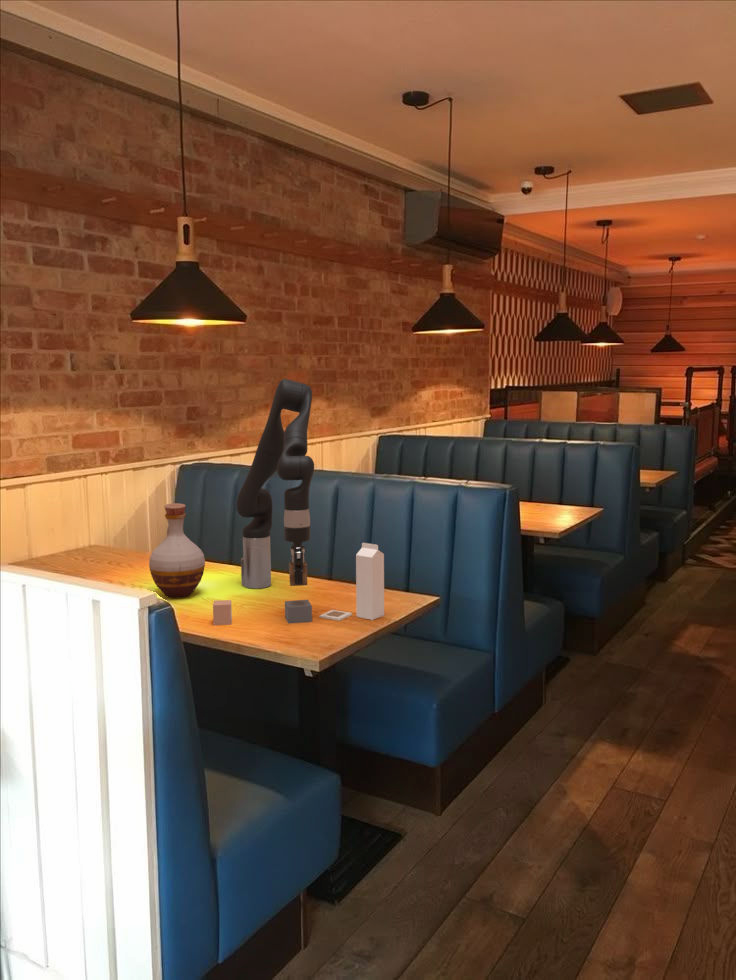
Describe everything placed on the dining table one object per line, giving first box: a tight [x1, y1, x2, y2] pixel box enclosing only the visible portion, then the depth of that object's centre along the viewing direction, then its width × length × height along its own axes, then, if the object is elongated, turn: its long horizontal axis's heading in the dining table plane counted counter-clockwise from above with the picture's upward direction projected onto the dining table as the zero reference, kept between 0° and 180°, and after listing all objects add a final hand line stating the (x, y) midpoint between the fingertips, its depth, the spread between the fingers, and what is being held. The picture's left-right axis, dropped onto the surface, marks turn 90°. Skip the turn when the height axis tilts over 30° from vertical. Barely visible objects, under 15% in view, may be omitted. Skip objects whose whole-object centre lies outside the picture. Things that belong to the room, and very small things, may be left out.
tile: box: [319, 609, 353, 622], centre depth 248 cm, size 7×7×1 cm
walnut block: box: [288, 560, 308, 587], centre depth 243 cm, size 5×5×6 cm
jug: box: [148, 502, 206, 599], centre depth 272 cm, size 20×18×30 cm
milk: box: [355, 542, 385, 621], centre depth 246 cm, size 6×6×22 cm
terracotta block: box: [212, 599, 233, 626], centre depth 242 cm, size 5×5×6 cm
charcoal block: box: [284, 599, 313, 625], centre depth 245 cm, size 7×7×5 cm
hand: (298, 581), depth 244 cm, fingers closed on walnut block, 5 cm apart
